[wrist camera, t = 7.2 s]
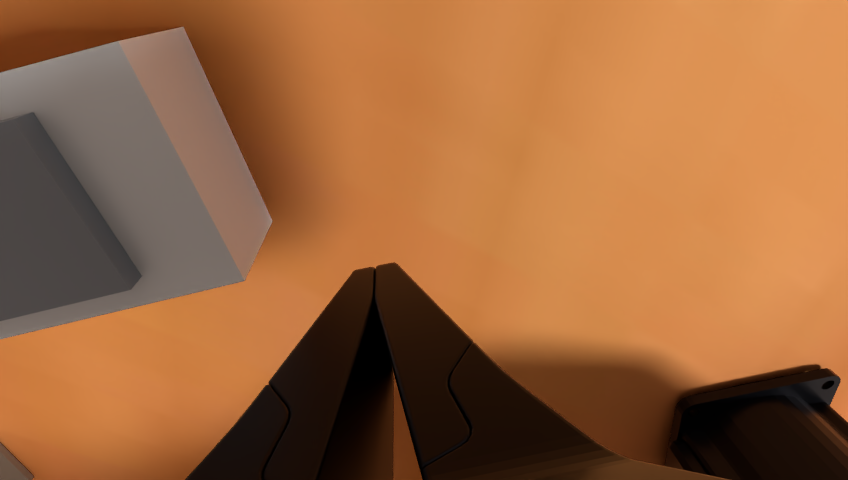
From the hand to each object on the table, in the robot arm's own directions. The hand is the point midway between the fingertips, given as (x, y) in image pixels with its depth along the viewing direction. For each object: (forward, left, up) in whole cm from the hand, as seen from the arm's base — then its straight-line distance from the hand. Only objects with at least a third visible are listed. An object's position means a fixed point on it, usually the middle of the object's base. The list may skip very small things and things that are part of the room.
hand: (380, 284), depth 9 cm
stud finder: (+7, -2, -4) cm, 9 cm away
